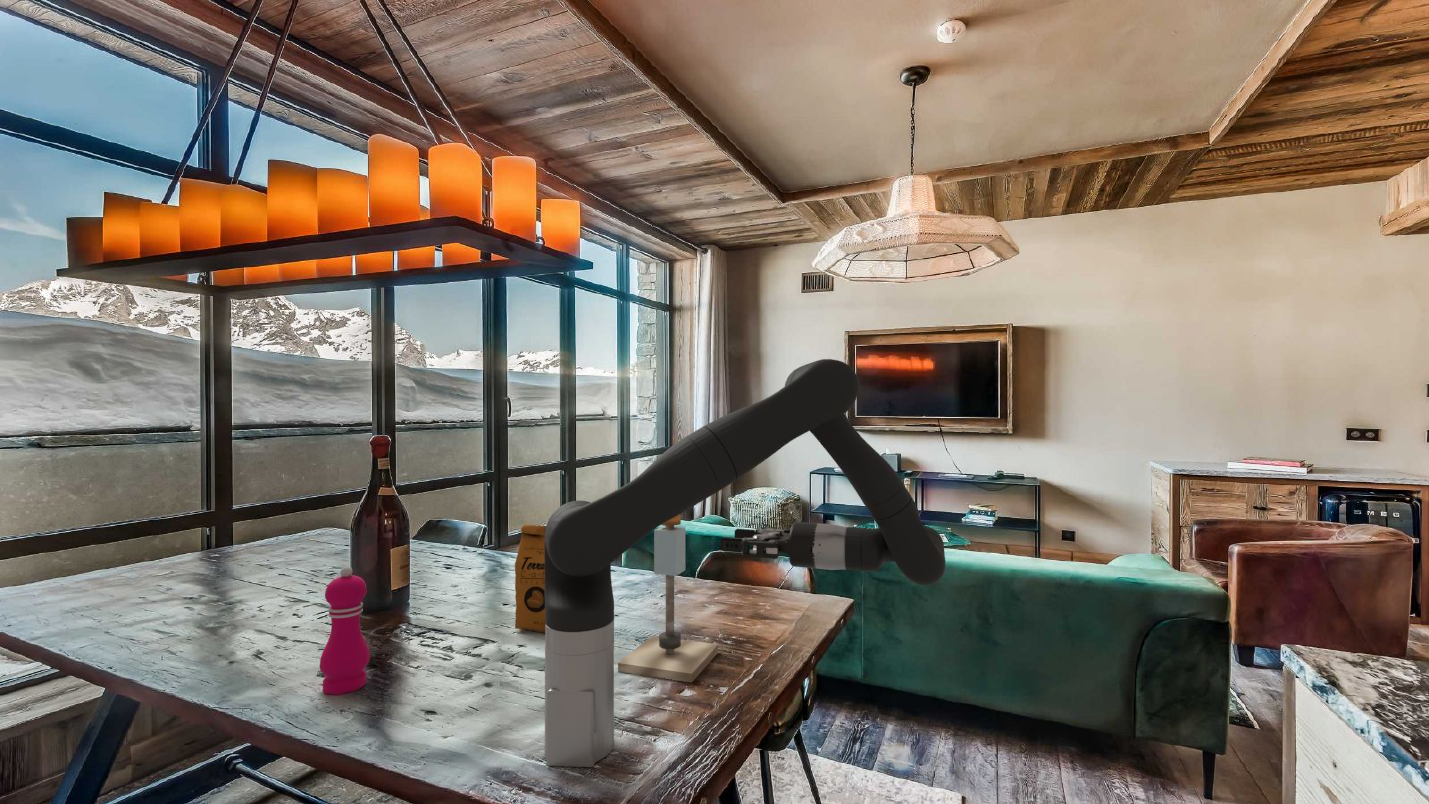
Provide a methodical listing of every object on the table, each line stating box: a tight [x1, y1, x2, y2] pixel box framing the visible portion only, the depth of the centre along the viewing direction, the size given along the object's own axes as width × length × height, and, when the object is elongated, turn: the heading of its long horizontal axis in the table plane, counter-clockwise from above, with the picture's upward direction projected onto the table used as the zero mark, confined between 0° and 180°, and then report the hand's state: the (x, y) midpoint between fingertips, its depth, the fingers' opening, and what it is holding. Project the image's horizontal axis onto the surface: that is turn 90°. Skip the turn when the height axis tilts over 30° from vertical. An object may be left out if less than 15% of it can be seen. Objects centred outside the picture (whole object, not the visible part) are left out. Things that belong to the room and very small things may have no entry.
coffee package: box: [514, 524, 546, 634], centre depth 130 cm, size 10×12×22 cm
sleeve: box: [653, 525, 686, 577], centre depth 112 cm, size 4×4×8 cm
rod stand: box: [617, 514, 719, 683], centre depth 112 cm, size 14×14×35 cm
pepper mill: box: [319, 566, 371, 695], centre depth 102 cm, size 7×7×20 cm
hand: (728, 538), depth 108 cm, fingers open, 8 cm apart
